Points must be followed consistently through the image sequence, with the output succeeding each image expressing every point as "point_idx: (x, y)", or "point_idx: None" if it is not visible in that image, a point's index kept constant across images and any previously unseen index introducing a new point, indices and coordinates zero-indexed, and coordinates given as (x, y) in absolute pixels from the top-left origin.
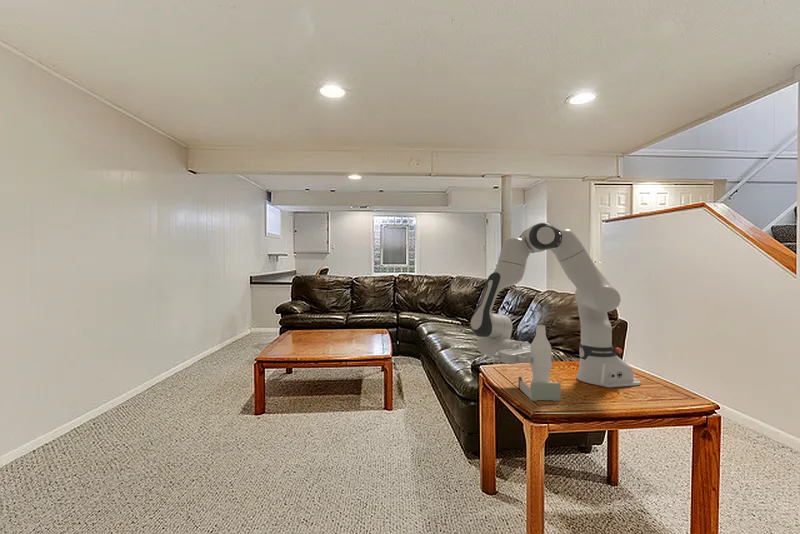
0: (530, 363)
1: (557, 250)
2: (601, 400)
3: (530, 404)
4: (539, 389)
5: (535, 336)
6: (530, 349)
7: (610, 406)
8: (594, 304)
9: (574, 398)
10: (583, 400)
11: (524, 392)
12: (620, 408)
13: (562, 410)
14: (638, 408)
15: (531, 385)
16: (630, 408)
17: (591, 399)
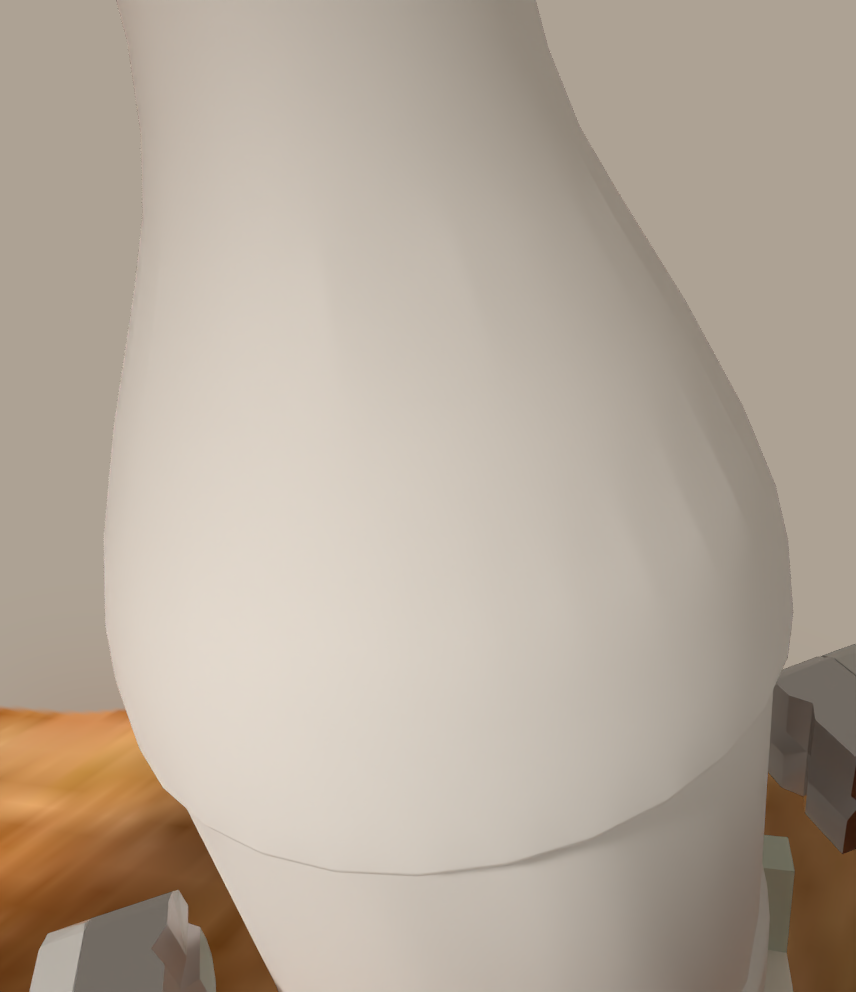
0: (768, 912)
1: None
2: (45, 874)
3: (820, 881)
4: None
5: (562, 104)
6: (789, 608)
7: (133, 754)
8: None
9: (216, 972)
10: (188, 900)
11: None
12: (114, 720)
13: None
14: (16, 711)
15: (789, 885)
16: (59, 715)
17: (93, 912)
